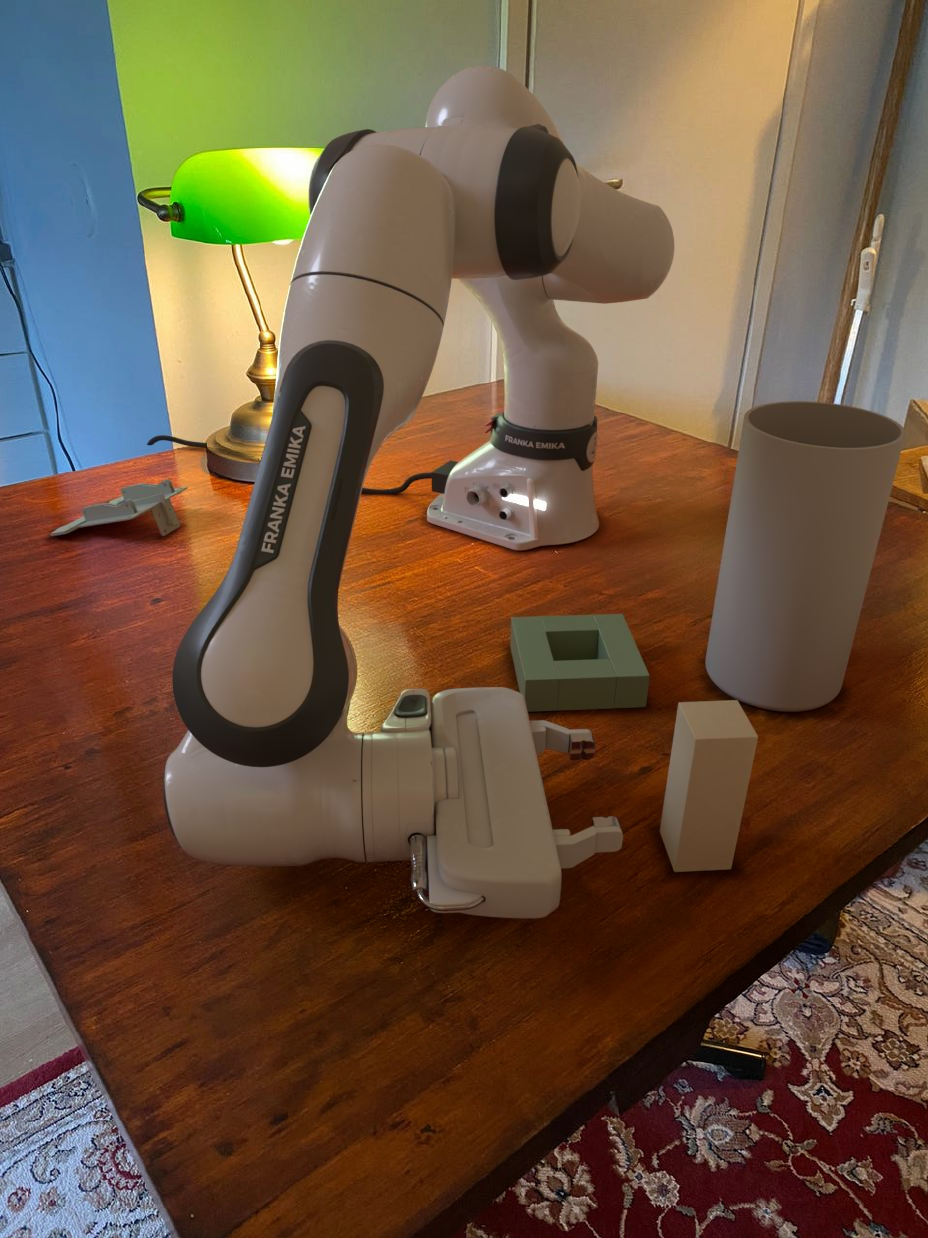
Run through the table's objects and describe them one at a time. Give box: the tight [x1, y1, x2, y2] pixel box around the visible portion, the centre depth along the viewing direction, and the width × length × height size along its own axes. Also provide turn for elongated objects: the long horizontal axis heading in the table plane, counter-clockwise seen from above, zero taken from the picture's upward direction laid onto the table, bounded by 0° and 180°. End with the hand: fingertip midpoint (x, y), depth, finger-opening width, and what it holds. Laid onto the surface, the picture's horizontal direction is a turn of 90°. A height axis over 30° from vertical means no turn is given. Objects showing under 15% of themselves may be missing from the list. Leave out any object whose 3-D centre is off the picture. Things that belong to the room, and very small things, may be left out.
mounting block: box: [509, 613, 650, 713], centre depth 86 cm, size 11×11×4 cm
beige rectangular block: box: [659, 699, 759, 873], centre depth 64 cm, size 4×4×12 cm
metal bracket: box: [50, 478, 188, 537], centre depth 117 cm, size 14×6×15 cm
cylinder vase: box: [704, 400, 906, 713], centre depth 81 cm, size 12×12×25 cm
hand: (605, 786), depth 64 cm, fingers open, 8 cm apart
